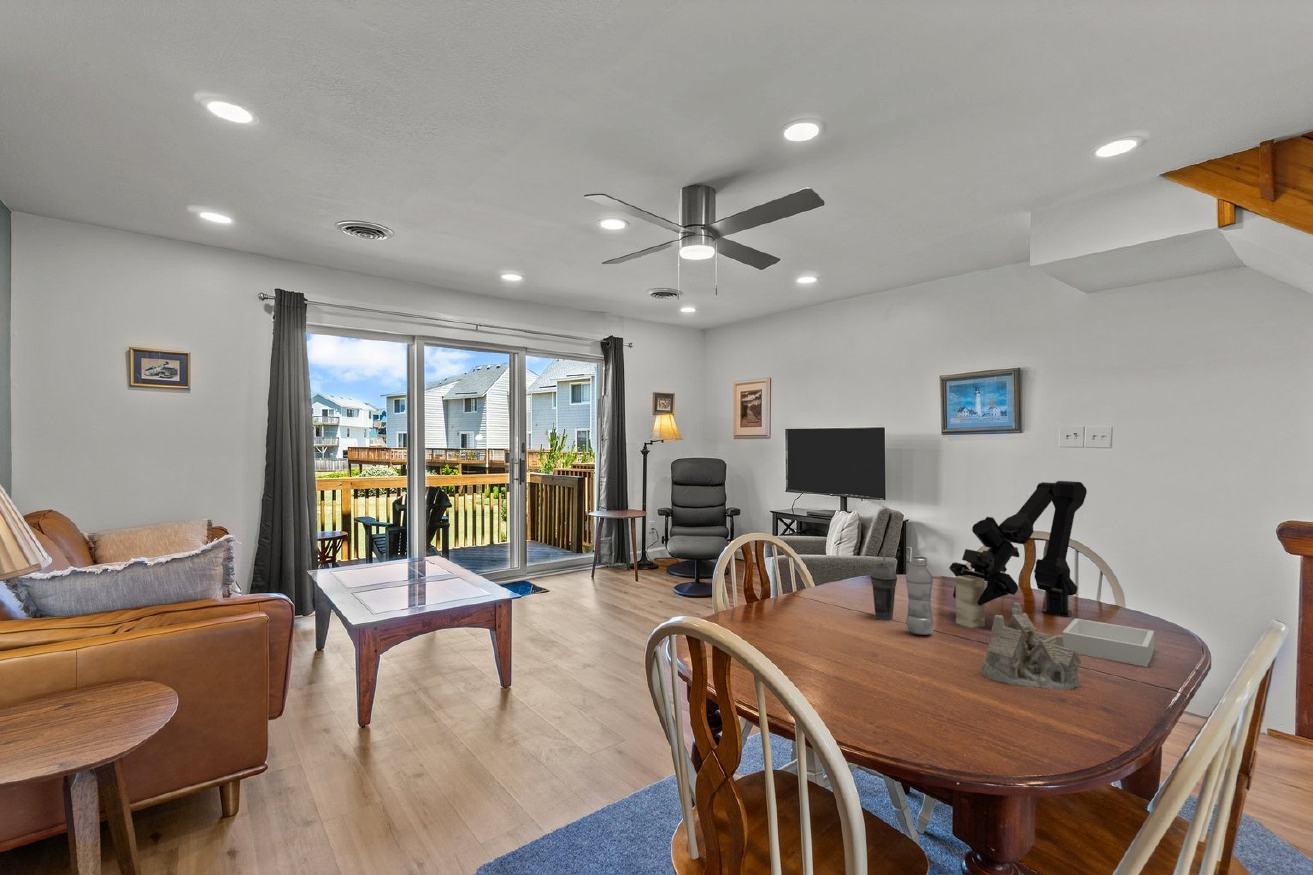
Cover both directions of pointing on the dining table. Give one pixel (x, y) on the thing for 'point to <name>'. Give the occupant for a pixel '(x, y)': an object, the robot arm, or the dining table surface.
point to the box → (1110, 641)
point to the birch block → (969, 601)
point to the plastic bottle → (919, 597)
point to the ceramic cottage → (1029, 655)
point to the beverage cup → (883, 590)
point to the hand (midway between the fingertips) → (966, 600)
